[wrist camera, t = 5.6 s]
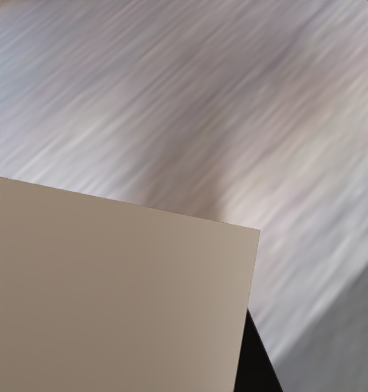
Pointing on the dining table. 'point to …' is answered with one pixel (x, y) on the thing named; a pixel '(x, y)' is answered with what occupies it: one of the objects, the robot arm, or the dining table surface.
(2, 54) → the dining table surface
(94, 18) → the dining table surface
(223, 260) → the tall block
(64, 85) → the dining table surface
